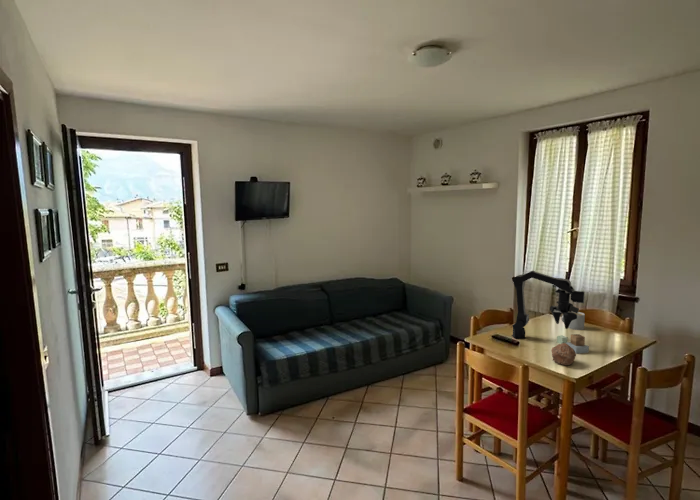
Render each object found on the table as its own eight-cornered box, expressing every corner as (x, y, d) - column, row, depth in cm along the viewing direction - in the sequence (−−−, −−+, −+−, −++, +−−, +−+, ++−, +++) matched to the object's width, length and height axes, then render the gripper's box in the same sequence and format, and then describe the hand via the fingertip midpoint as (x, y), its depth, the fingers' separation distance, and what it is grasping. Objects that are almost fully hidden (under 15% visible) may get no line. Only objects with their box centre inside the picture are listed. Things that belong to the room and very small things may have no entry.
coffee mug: (586, 327, 259) (586, 313, 258) (581, 331, 252) (582, 316, 251) (564, 323, 268) (565, 309, 267) (559, 326, 262) (560, 312, 261)
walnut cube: (575, 345, 215) (576, 337, 214) (570, 342, 220) (570, 334, 219) (584, 345, 215) (584, 337, 214) (579, 342, 220) (579, 334, 219)
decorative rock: (556, 356, 209) (557, 338, 208) (579, 362, 201) (580, 344, 200) (546, 363, 201) (547, 344, 200) (569, 369, 192) (570, 350, 191)
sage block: (562, 344, 228) (562, 338, 228) (556, 342, 232) (556, 335, 231) (567, 343, 229) (567, 337, 229) (561, 341, 233) (562, 335, 233)
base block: (576, 354, 213) (576, 347, 213) (565, 349, 221) (565, 342, 220) (588, 353, 214) (588, 346, 214) (577, 348, 222) (577, 341, 222)
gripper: (587, 304, 215) (585, 331, 217) (568, 296, 234) (566, 321, 235) (568, 304, 215) (565, 331, 217) (550, 296, 233) (548, 321, 235)
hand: (561, 326), depth 226 cm, fingers open, 9 cm apart
